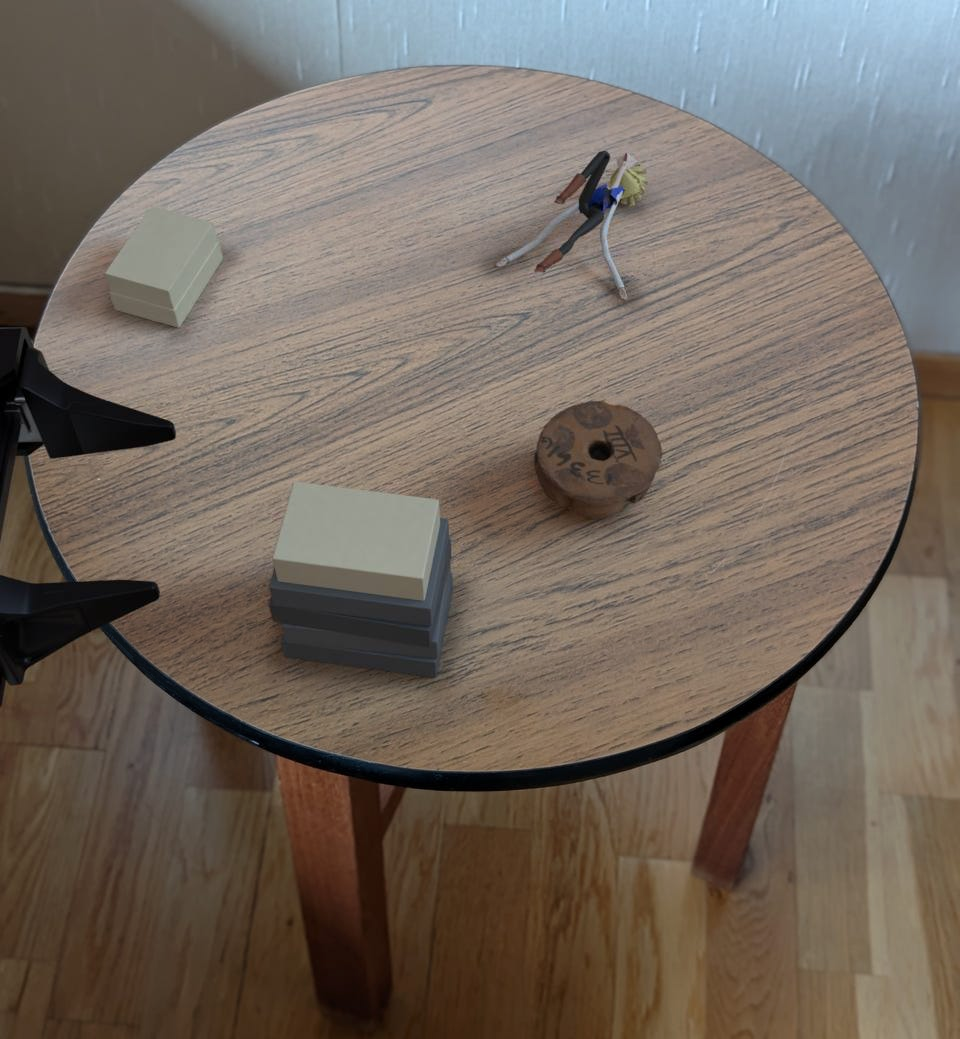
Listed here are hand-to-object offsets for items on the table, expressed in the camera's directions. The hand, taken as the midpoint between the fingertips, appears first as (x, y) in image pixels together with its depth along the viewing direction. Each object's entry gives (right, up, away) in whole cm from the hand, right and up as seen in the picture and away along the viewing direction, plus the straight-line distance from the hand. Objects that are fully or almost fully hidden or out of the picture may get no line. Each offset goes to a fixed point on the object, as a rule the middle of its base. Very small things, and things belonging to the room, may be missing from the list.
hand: (166, 507), depth 64 cm
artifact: (+22, +1, +20) cm, 30 cm away
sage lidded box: (-7, +16, +30) cm, 34 cm away
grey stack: (+9, -7, +15) cm, 18 cm away
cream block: (+9, -2, +8) cm, 12 cm away
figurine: (+23, +19, +32) cm, 44 cm away
